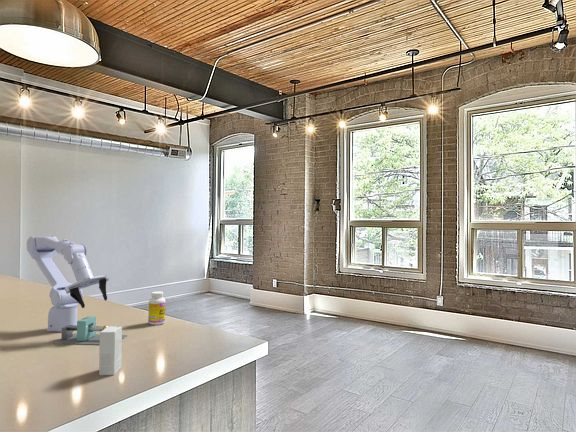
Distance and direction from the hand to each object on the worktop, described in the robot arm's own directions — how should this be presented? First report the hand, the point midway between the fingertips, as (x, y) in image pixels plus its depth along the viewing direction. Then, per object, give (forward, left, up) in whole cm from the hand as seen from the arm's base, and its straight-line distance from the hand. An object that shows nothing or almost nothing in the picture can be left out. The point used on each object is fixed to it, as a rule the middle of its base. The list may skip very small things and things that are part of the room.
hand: (95, 302), depth 141 cm
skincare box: (+21, -30, -13) cm, 39 cm away
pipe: (0, -2, -13) cm, 13 cm away
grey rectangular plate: (0, -2, -13) cm, 13 cm away
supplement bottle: (+15, +22, -13) cm, 29 cm away
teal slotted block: (-2, -2, -13) cm, 13 cm away
